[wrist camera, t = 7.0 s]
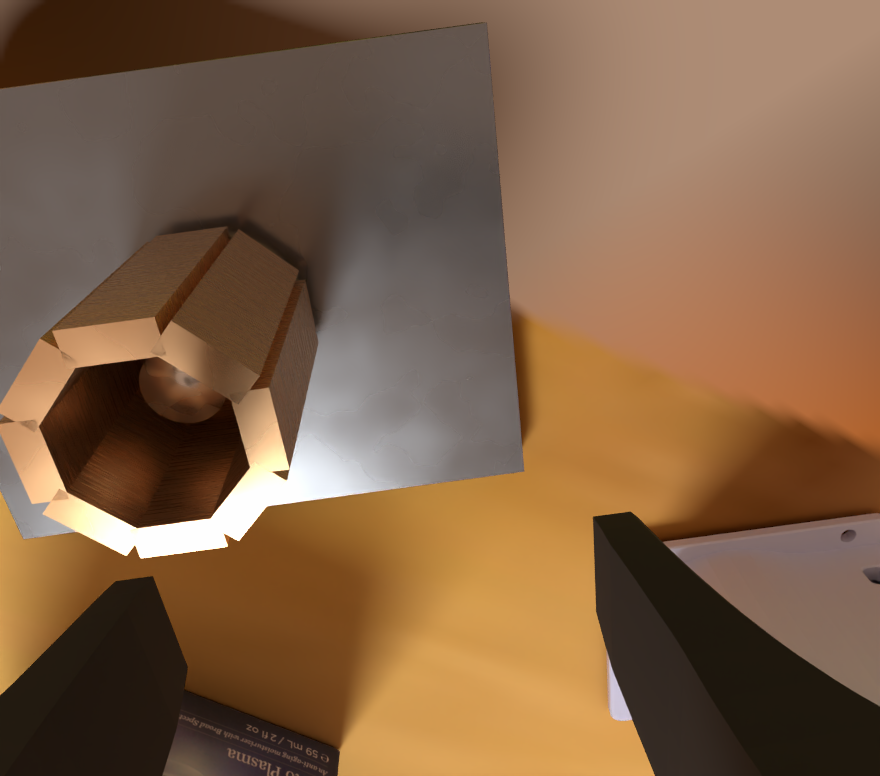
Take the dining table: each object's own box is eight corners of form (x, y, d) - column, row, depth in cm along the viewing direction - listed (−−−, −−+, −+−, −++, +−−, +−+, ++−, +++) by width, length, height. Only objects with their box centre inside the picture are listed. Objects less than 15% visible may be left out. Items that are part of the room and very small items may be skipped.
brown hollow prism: (292, 217, 17) (247, 304, 12) (329, 395, 20) (306, 535, 14) (92, 244, 17) (-41, 343, 12) (151, 419, 20) (61, 568, 14)
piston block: (481, 22, 17) (513, 22, 13) (519, 453, 23) (550, 559, 18) (-149, 108, 17) (-338, 139, 13) (37, 519, 23) (-49, 640, 18)
